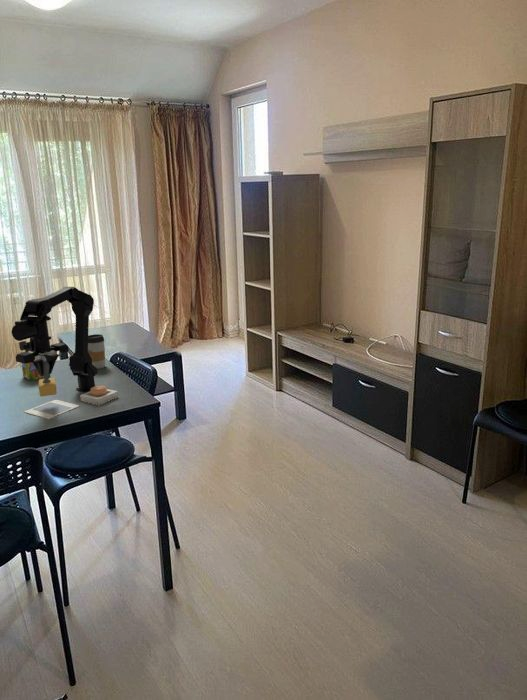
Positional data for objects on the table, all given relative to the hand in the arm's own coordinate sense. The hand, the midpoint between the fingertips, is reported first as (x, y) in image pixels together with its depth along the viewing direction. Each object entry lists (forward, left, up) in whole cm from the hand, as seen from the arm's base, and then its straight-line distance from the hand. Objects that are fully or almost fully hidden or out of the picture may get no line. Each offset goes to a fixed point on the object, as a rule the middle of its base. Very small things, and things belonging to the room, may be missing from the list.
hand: (45, 375), depth 200 cm
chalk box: (+38, -22, -13) cm, 46 cm away
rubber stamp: (0, 0, -7) cm, 7 cm away
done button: (-10, -15, -11) cm, 21 cm away
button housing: (-10, -15, -13) cm, 22 cm away
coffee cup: (+24, -45, -13) cm, 53 cm away
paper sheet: (-2, +1, -13) cm, 13 cm away
